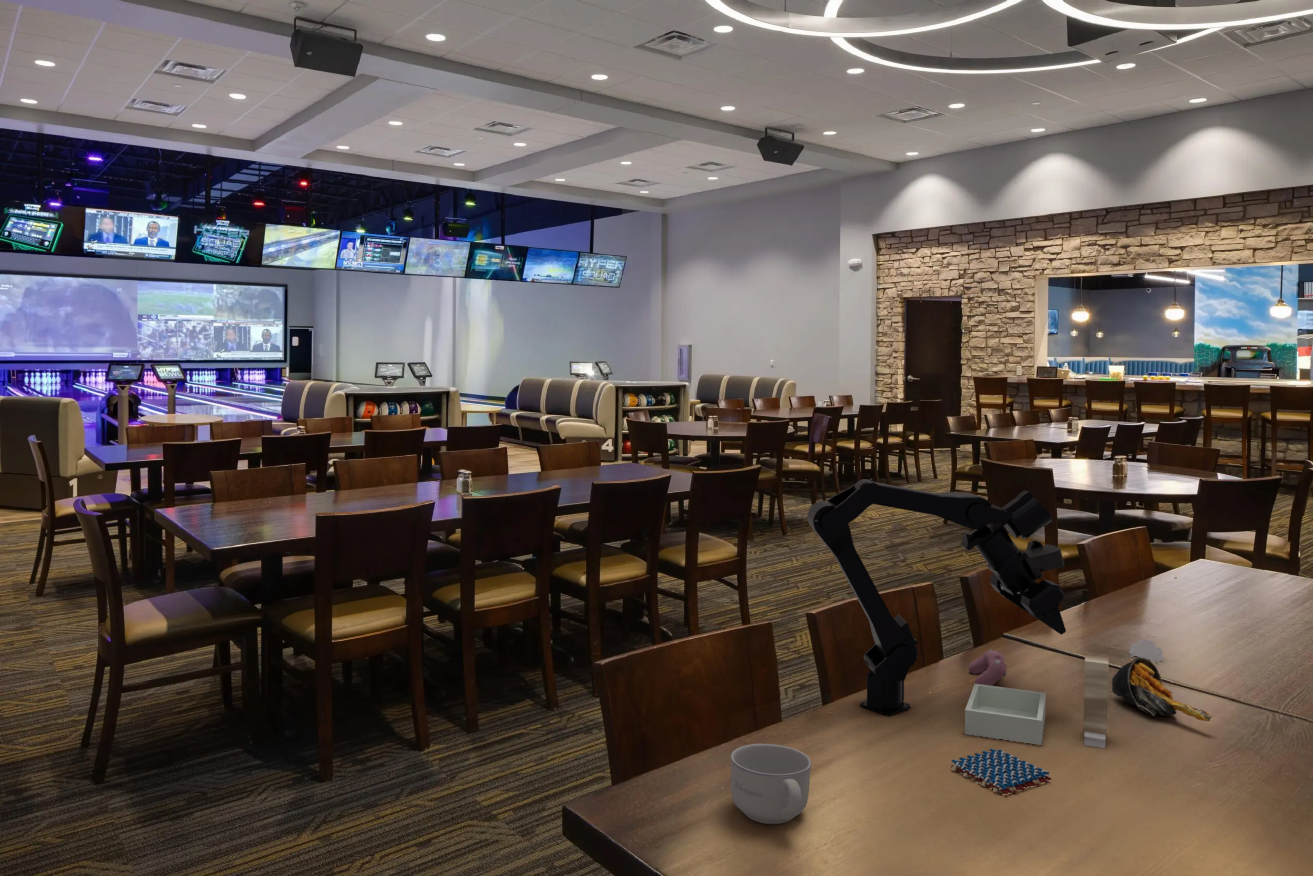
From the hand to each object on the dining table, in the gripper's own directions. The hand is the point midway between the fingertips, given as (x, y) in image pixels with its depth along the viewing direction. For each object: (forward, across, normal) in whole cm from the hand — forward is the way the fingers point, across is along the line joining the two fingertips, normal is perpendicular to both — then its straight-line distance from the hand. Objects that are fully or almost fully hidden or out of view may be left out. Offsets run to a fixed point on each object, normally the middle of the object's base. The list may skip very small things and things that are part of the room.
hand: (1051, 625), depth 161 cm
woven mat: (+1, -28, +25) cm, 37 cm away
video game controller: (+8, +13, +14) cm, 21 cm away
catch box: (+5, -9, +18) cm, 20 cm away
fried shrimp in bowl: (+21, -5, -5) cm, 23 cm away
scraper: (+12, -15, +8) cm, 20 cm away
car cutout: (+28, +28, -14) cm, 42 cm away
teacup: (-20, -40, +53) cm, 69 cm away
